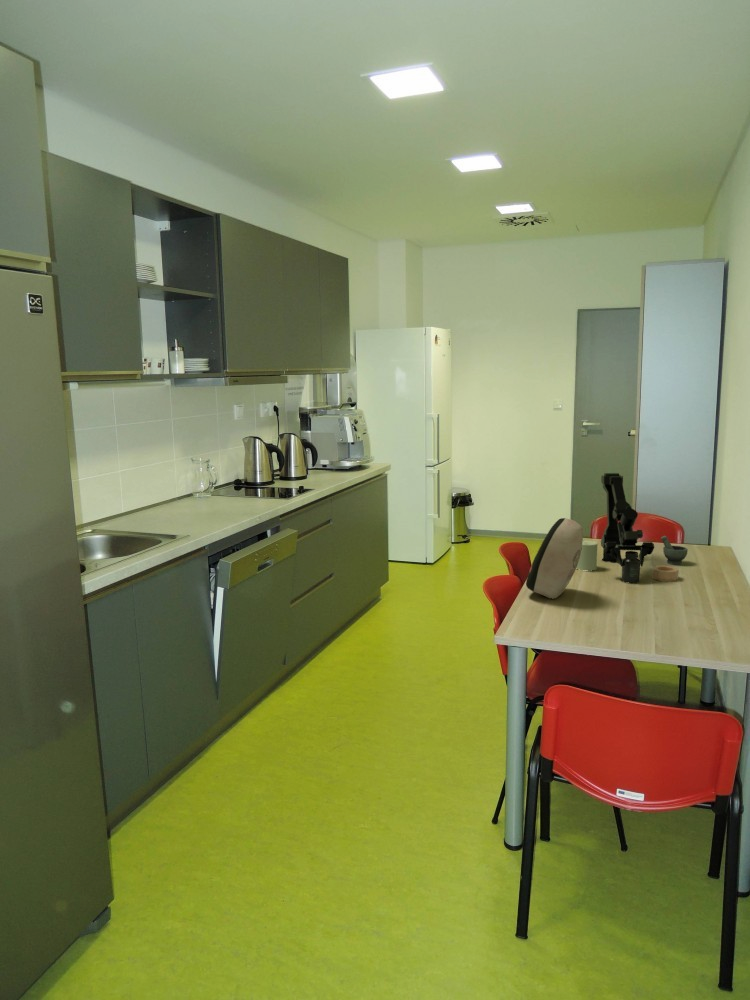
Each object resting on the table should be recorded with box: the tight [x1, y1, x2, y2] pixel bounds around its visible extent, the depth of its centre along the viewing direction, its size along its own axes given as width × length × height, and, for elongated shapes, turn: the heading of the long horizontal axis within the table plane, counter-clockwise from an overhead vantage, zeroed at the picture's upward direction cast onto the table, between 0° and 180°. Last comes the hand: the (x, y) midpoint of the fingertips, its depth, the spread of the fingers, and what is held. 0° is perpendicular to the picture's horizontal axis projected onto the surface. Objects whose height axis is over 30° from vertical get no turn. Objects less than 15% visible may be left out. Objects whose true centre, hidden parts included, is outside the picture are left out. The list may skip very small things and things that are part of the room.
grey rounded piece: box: [525, 517, 584, 600], centre depth 272 cm, size 22×20×30 cm
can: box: [576, 539, 599, 572], centre depth 310 cm, size 9×9×12 cm
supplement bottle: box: [621, 550, 641, 584], centre depth 290 cm, size 7×7×12 cm
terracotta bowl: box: [651, 565, 680, 582], centre depth 294 cm, size 10×10×4 cm
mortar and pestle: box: [660, 535, 688, 566], centre depth 317 cm, size 11×9×12 cm
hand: (632, 566), depth 288 cm, fingers open, 7 cm apart
